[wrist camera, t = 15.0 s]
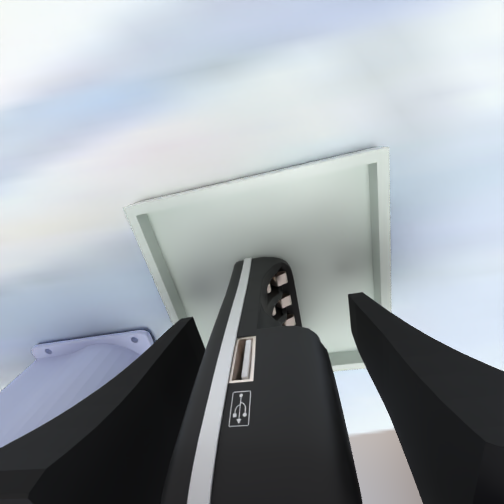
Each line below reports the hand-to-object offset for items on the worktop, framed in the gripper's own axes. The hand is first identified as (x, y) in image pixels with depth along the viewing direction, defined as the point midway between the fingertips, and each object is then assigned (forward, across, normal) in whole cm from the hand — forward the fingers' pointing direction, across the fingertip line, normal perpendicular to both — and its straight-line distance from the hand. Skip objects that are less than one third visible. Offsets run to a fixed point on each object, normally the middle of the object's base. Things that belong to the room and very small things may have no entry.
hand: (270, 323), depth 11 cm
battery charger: (+4, 0, +1) cm, 4 cm away
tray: (+4, 0, 0) cm, 4 cm away
